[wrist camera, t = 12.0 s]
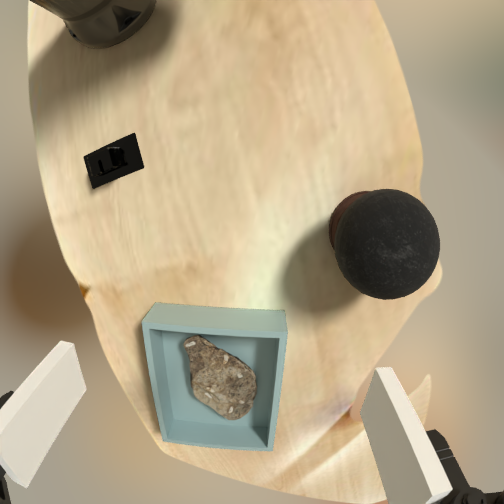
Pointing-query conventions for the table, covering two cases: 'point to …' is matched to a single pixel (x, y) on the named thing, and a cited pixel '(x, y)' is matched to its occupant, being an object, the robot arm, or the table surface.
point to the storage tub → (232, 341)
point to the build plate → (114, 161)
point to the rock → (220, 378)
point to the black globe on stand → (384, 242)
